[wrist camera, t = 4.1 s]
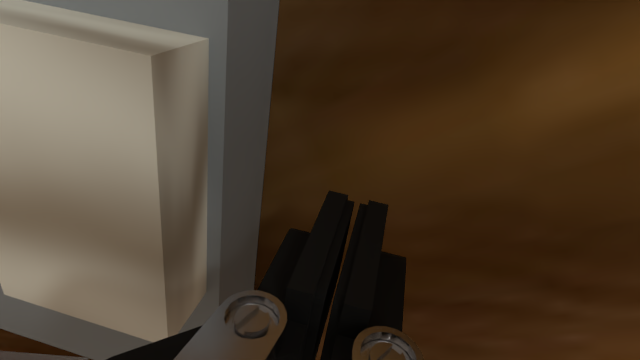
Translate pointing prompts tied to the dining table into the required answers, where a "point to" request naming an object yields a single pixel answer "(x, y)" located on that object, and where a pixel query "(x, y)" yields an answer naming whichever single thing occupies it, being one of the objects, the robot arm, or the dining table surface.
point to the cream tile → (103, 168)
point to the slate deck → (223, 158)
